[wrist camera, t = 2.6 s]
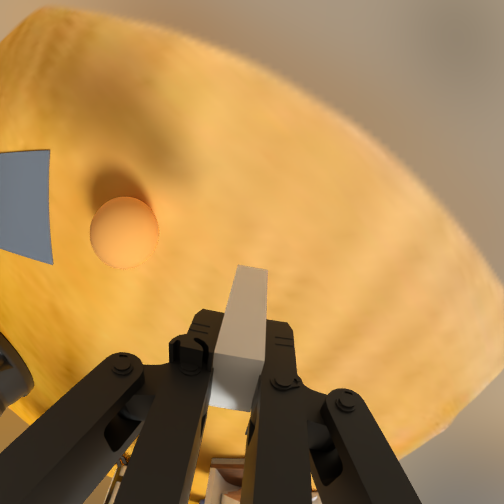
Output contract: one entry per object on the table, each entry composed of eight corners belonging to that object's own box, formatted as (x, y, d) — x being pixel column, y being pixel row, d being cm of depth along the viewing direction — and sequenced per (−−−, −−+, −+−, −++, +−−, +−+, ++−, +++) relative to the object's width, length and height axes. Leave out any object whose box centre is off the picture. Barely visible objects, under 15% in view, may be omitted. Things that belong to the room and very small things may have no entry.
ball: (112, 248, 23) (79, 273, 18) (112, 188, 21) (75, 200, 16) (166, 259, 23) (141, 288, 18) (171, 195, 21) (142, 209, 16)
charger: (325, 481, 39) (323, 498, 44) (280, 487, 40) (286, 503, 45) (327, 500, 35) (324, 513, 40) (280, 505, 36) (286, 517, 41)
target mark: (-3, 246, 24) (-4, 247, 23) (-8, 154, 19) (-9, 154, 19) (53, 264, 24) (52, 264, 24) (50, 150, 20) (48, 150, 19)
